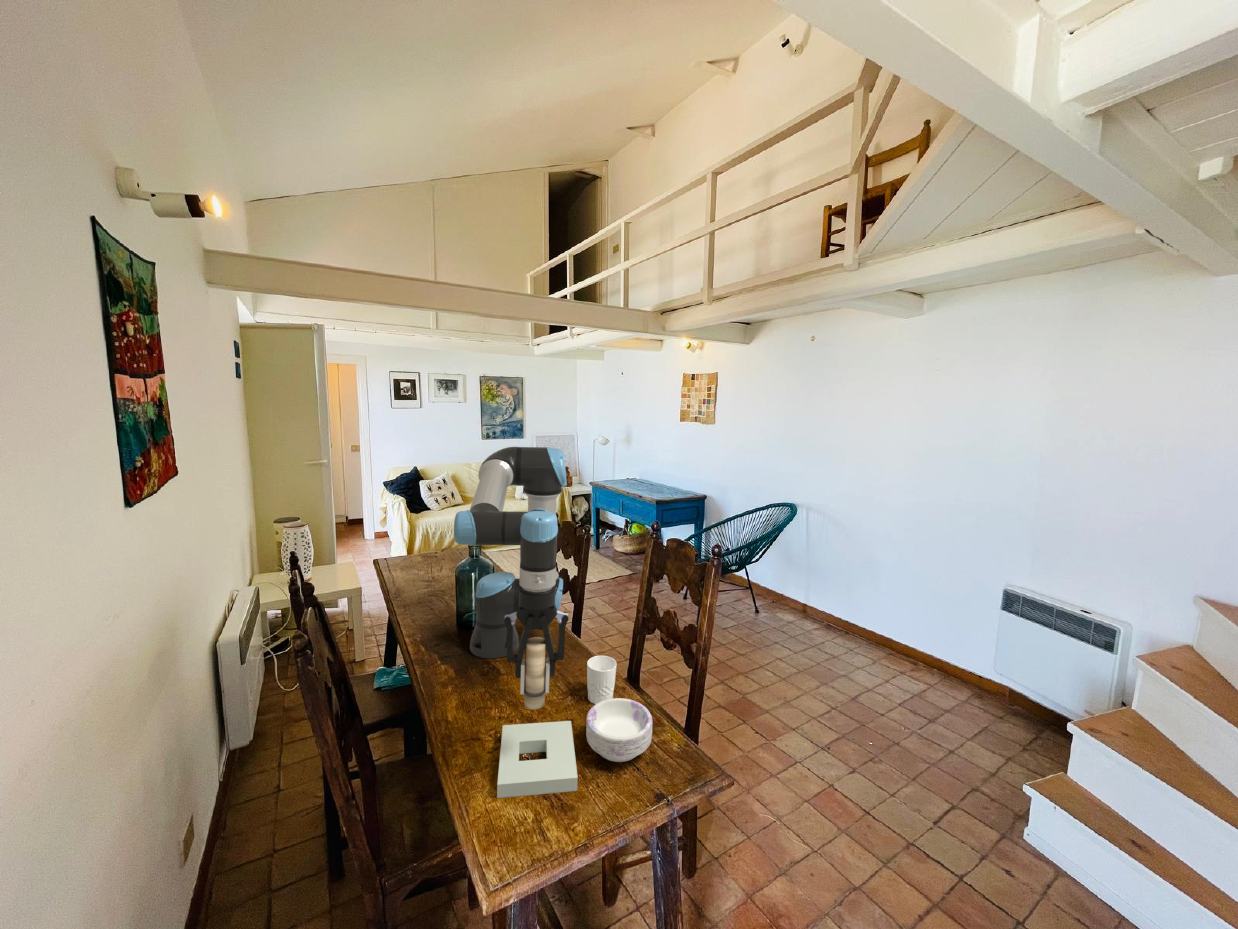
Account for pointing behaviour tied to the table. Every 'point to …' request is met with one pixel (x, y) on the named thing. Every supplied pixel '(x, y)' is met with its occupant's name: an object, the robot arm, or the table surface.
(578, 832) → the table surface
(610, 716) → the paper bowls
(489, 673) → the table surface
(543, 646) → the maple dowel
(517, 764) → the socket board
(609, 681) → the white cup
